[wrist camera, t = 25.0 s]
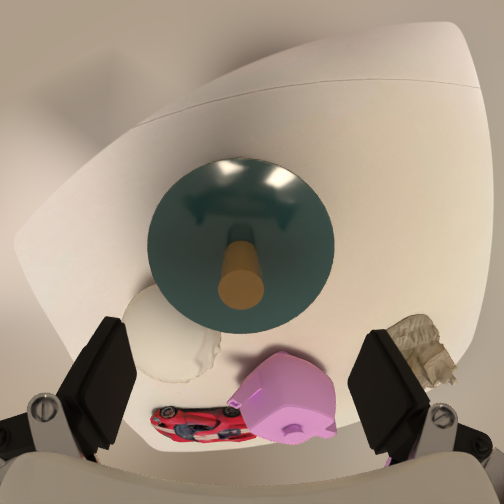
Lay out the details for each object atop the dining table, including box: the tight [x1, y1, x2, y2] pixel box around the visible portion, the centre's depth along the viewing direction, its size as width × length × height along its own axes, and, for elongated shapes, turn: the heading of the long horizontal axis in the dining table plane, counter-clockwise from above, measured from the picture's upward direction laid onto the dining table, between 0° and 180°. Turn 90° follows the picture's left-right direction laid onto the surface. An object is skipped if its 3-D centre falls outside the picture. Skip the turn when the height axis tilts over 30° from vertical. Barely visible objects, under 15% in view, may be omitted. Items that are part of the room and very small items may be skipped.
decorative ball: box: [122, 284, 221, 383], centre depth 30 cm, size 12×12×12 cm
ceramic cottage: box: [386, 315, 458, 389], centre depth 35 cm, size 16×16×15 cm
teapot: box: [227, 351, 337, 444], centre depth 36 cm, size 20×12×13 cm, turn 53°
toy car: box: [150, 406, 257, 443], centre depth 44 cm, size 10×22×5 cm, turn 98°
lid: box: [147, 158, 334, 334], centre depth 18 cm, size 14×14×6 cm
